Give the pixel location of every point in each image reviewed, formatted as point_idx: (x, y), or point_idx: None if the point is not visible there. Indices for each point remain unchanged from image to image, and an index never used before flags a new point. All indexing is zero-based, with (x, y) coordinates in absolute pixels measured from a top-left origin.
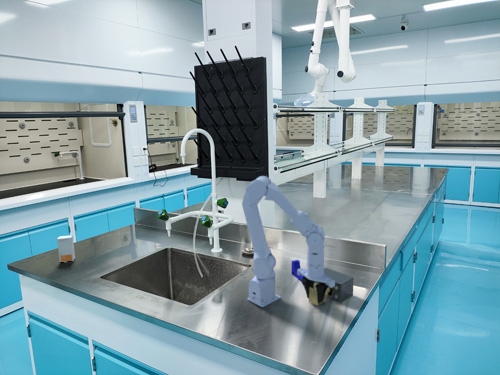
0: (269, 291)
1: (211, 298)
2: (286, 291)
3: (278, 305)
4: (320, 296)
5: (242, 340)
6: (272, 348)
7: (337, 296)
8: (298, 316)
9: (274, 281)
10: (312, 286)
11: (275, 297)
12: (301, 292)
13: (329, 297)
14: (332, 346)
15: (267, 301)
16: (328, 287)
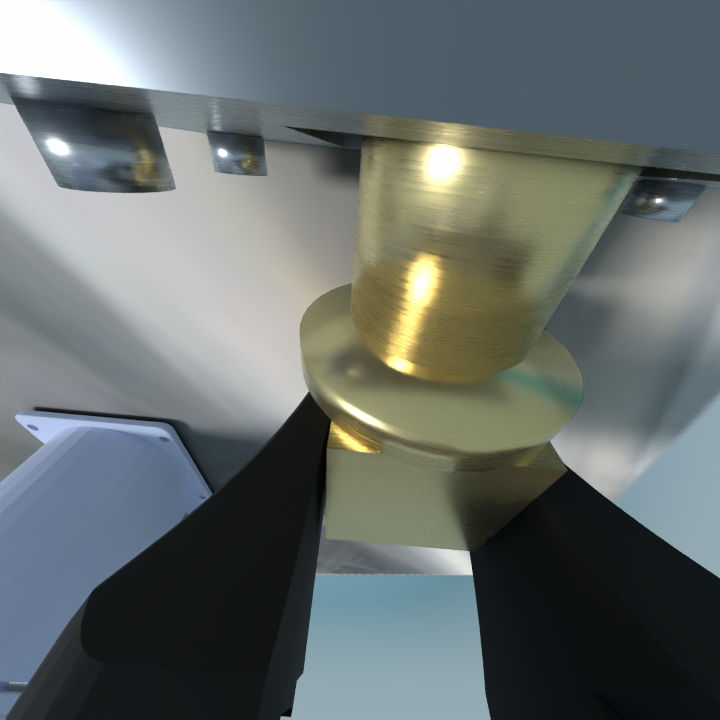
0: (146, 547)
1: None
2: (74, 331)
3: (240, 465)
4: None
5: (329, 568)
6: (408, 565)
7: (699, 191)
8: None
9: (64, 614)
10: (356, 523)
11: (159, 446)
12: (151, 259)
13: None
14: None
15: (186, 486)
16: (593, 245)
